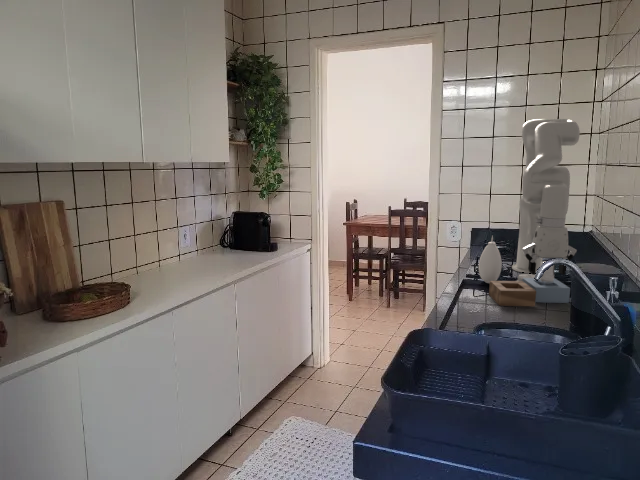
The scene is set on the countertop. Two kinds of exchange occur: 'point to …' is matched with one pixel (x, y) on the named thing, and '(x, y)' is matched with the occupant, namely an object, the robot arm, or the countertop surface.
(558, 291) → the socket block
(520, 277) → the mechanical component
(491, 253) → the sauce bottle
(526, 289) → the walnut mount
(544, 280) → the steel pin
